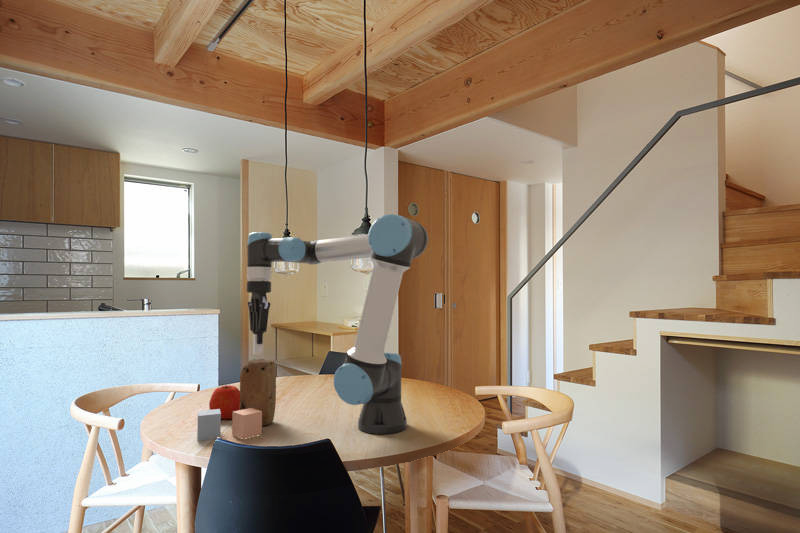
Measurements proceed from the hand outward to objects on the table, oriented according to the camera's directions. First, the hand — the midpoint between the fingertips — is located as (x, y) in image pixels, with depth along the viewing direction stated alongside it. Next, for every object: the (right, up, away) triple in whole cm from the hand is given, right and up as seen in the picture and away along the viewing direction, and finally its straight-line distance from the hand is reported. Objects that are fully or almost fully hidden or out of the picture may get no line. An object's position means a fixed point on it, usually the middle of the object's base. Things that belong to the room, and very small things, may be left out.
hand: (257, 354), depth 150 cm
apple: (-13, -23, +7) cm, 27 cm away
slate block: (-10, -21, -14) cm, 28 cm away
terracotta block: (+1, -21, -13) cm, 25 cm away
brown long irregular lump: (0, -22, -1) cm, 22 cm away
